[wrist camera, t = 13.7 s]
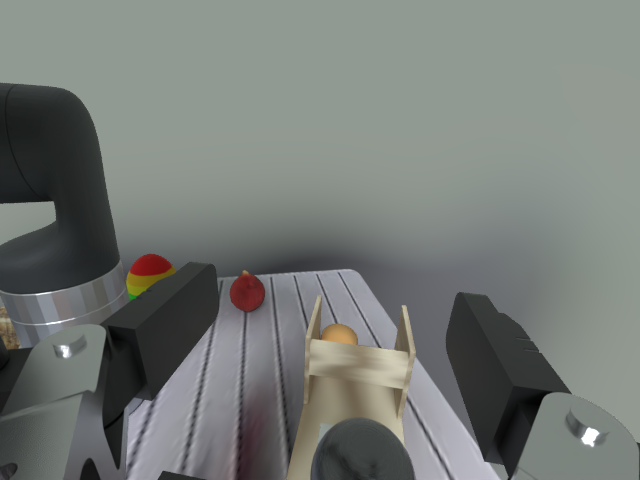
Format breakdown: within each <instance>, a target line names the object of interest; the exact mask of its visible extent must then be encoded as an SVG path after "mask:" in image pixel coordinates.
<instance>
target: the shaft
mask: <svg viewBox="0 0 640 480" xmlns="http://www.w3.org/2000/svg"><path fill="white" fill-rule="evenodd" d="M310 480H416V477H415V472H414V468H413V465H412V462H411V459H410V457H409V454H408V452H407V451H406V449H405V447H404V445H403V444H402V442H401V441H400V440H399V438H398V437H397V436H396V435H395V434H394V433H393V432H392V431H391V430H390V429H389V428H387V427H386V426H385V425H383V424H381V423H380V422H377V421H375V420H372V419H369V418H364V417H354V418H349V419H345V420H343V421H340V422H338V423H337V424H335V425H330V424H325V423H321V424H320V430H319V436H318V443H317V448H316V451H315V453H314V456H313V460H312V465H311V473H310Z"/></svg>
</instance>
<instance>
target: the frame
mask: <svg viewBox="0 0 640 480" xmlns="http://www.w3.org/2000/svg"><path fill="white" fill-rule="evenodd" d="M321 300H322V296H320V295H318V296H317V300H316V303H315V307H314V310H313V313H312V317H311V320H310V324H309V327H308V330H307V334H306V341H305V375H304V404H303V409H302V413H301V417H300V422H299V426H298V430H297V435H296V439H295V443H294V448H293V452H292V456H291V461H290V465H289V469H288V474H287V478H286V480H310V473H311V465H312V460H313V456H314V453H315V451H316V448H317V443H318V436H319V430H320V424H321V423H325V424H330V425H335V424H337V423H338V422H340V421H343V420H345V419H349V418H354V417H364V418H369V419H372V420H375V421H377V422H380V423H381V424H383V425H385V426H386V427H387V428H389V429H390V430H391V431H392V432H393V433H394V434H395V435H396V436H397V437H398V438H399V440H400V441H401V442H402V444H403V445H404V447H405V444H404V435H403V427H402V416H403V411H404V407H405V402H406V397H407V392H408V387H409V382H410V378H411V373H412V368H413V363H414V358H415V353H416V351H415V346H414V342H413V336H412V332H411V327H410V322H409V317H408V312H407V308H406V306H404V305H402V309H401V314H400V320H399V325H398V331H397V337H396V343H395V349H394V350H389V349H382V348H374V347H367V346H360V345H353V344H345V343H338V342H331V341H324V340H320V320H321Z"/></svg>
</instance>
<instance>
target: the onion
mask: <svg viewBox="0 0 640 480" xmlns="http://www.w3.org/2000/svg"><path fill="white" fill-rule="evenodd" d="M264 296H265V289H264V286H263V284H262V283H261V281H260V280H259V279H258V278H257V277H256V276H254V275H251V274H249V273H248V272H247V271H246V270H243V272H242V275H241V276H239V277H238V278H237V279H236V280H235V281H234V283H233V284H232V286H231V289H230V298H231V301H232V303H233V304H234V305H235V306H236V307H237V308H239V309H241V310H243V311H246V312H250V311H252V310H254V309H256V308H257V307H258V306H259V305H261V303H262V302H263V300H264Z"/></svg>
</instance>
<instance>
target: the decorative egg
mask: <svg viewBox="0 0 640 480" xmlns="http://www.w3.org/2000/svg"><path fill="white" fill-rule="evenodd" d="M176 272H177V271H176V270H175V268H174V267H173V265H172V264H171V263H170V262H169V261H167V260H166V259H165V258H163V257H161V256H159V255H155V254H147V255H144V256H142V257H140V258H139V259H138V260H137V261H136V262H135V263H134V264H133V265H132V267H131V269H130V271H129V273H128V276H127V280H126V285H127V289H128V293H129V297H130V301H131V300H133V299H136V297H137V296H138V295H139V294H141V293H142V292H143V291H146V289H147V288H149V287H150V286H151V285H153V284H154V283H155V282H157V281H158V280H161V279H163V278H165V277H168V276H170V275H172V274H175V273H176Z"/></svg>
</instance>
